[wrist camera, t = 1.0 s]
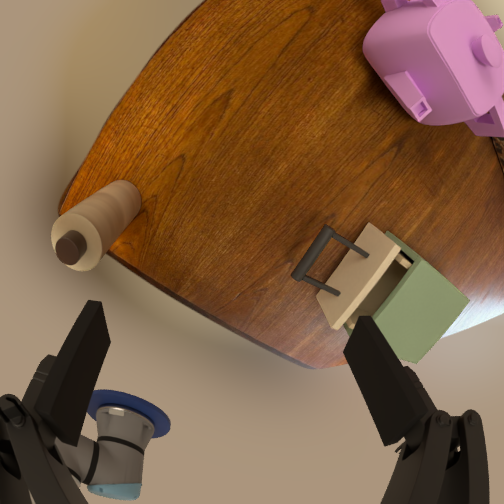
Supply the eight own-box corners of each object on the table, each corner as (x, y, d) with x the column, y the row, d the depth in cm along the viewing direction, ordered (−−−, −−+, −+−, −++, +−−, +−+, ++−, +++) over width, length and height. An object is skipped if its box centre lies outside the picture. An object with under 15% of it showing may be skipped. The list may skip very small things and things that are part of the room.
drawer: (272, 277, 36) (282, 309, 30) (327, 193, 32) (351, 212, 25) (382, 325, 43) (400, 352, 36) (428, 267, 38) (452, 289, 32)
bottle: (132, 227, 32) (87, 290, 19) (97, 210, 30) (38, 264, 18) (147, 190, 30) (101, 237, 18) (110, 173, 29) (47, 209, 16)
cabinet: (332, 304, 40) (353, 344, 32) (387, 229, 36) (422, 258, 28) (394, 331, 45) (416, 364, 37) (440, 273, 41) (470, 300, 33)
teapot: (351, 117, 29) (436, 123, 15) (338, -10, 20) (400, -61, 7) (457, 132, 30) (535, 153, 16) (447, 26, 22) (519, 16, 8)
